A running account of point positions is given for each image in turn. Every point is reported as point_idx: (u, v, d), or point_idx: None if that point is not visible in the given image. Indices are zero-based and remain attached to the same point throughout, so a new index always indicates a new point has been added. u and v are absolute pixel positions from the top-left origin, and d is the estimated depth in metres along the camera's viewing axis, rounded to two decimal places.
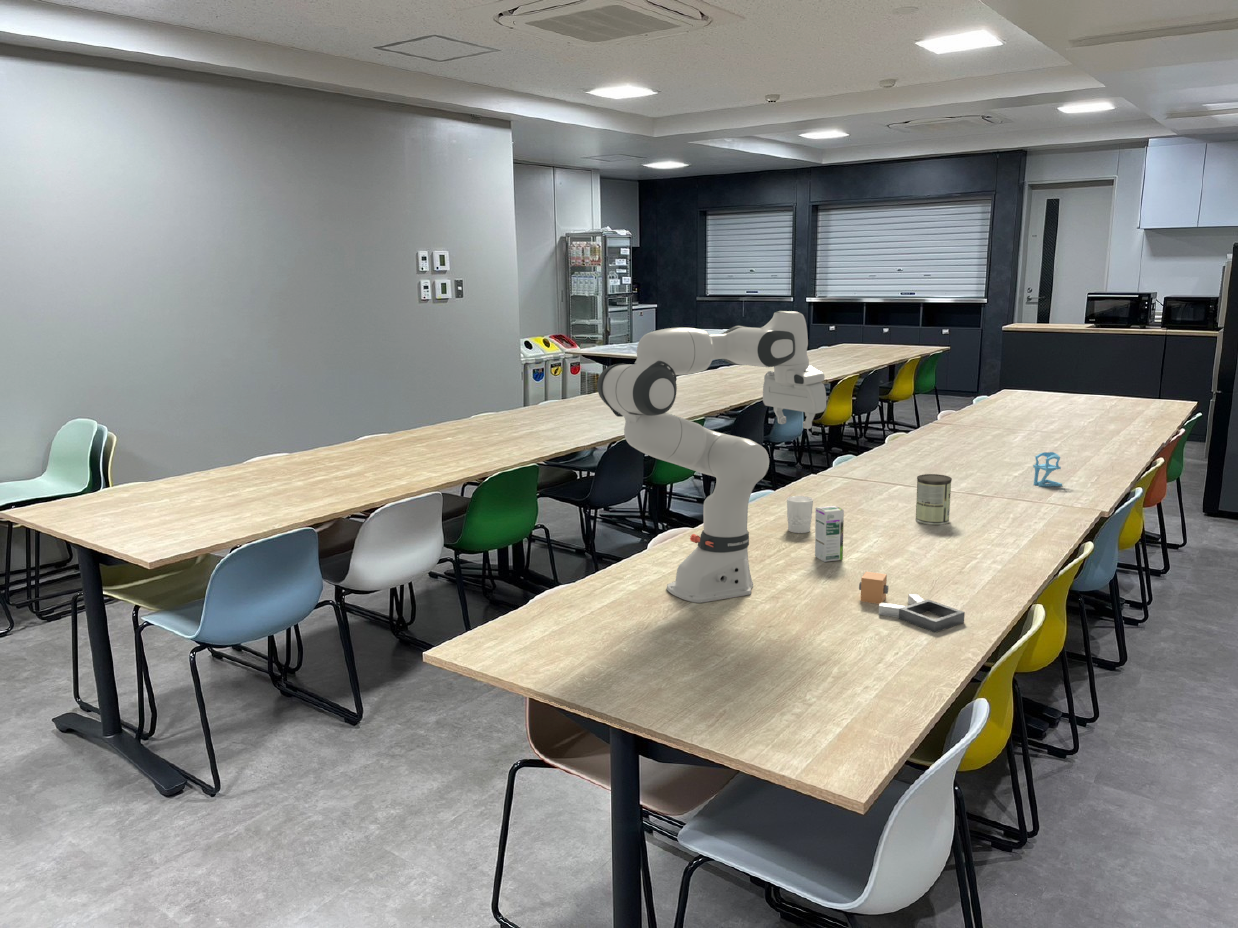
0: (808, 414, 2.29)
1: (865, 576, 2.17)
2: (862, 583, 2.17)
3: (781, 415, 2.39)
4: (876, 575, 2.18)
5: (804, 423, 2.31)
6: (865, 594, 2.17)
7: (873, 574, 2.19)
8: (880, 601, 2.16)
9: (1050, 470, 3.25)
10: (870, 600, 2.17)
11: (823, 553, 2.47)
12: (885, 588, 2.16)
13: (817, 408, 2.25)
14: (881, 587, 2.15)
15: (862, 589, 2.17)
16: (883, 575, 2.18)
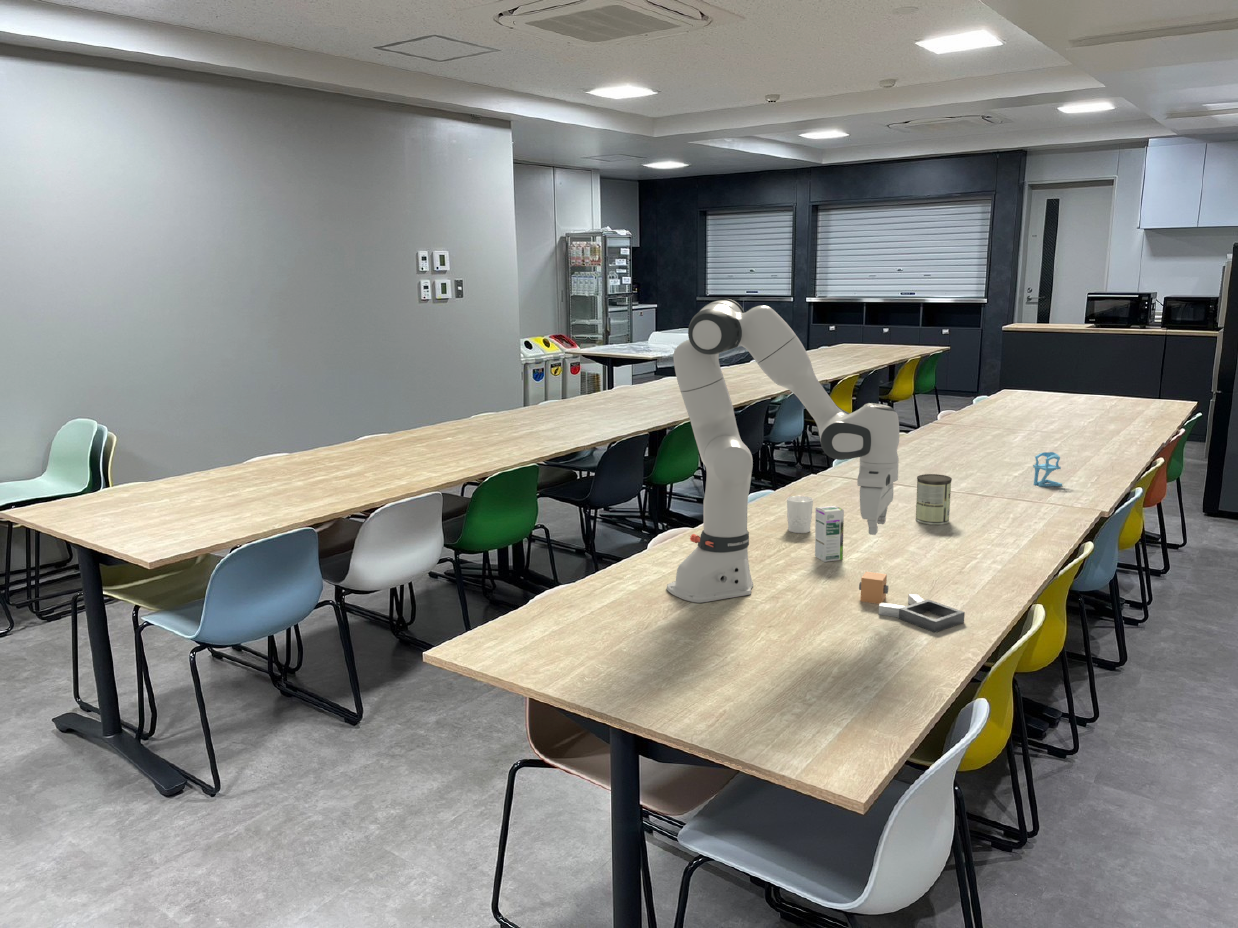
0: None
1: (865, 576, 2.17)
2: (862, 583, 2.17)
3: (882, 514, 2.19)
4: (876, 575, 2.18)
5: None
6: (865, 594, 2.17)
7: (873, 574, 2.19)
8: (880, 601, 2.16)
9: (1050, 470, 3.25)
10: (870, 600, 2.17)
11: (823, 553, 2.47)
12: (885, 588, 2.16)
13: (862, 514, 2.06)
14: (881, 587, 2.15)
15: (862, 589, 2.17)
16: (883, 575, 2.18)
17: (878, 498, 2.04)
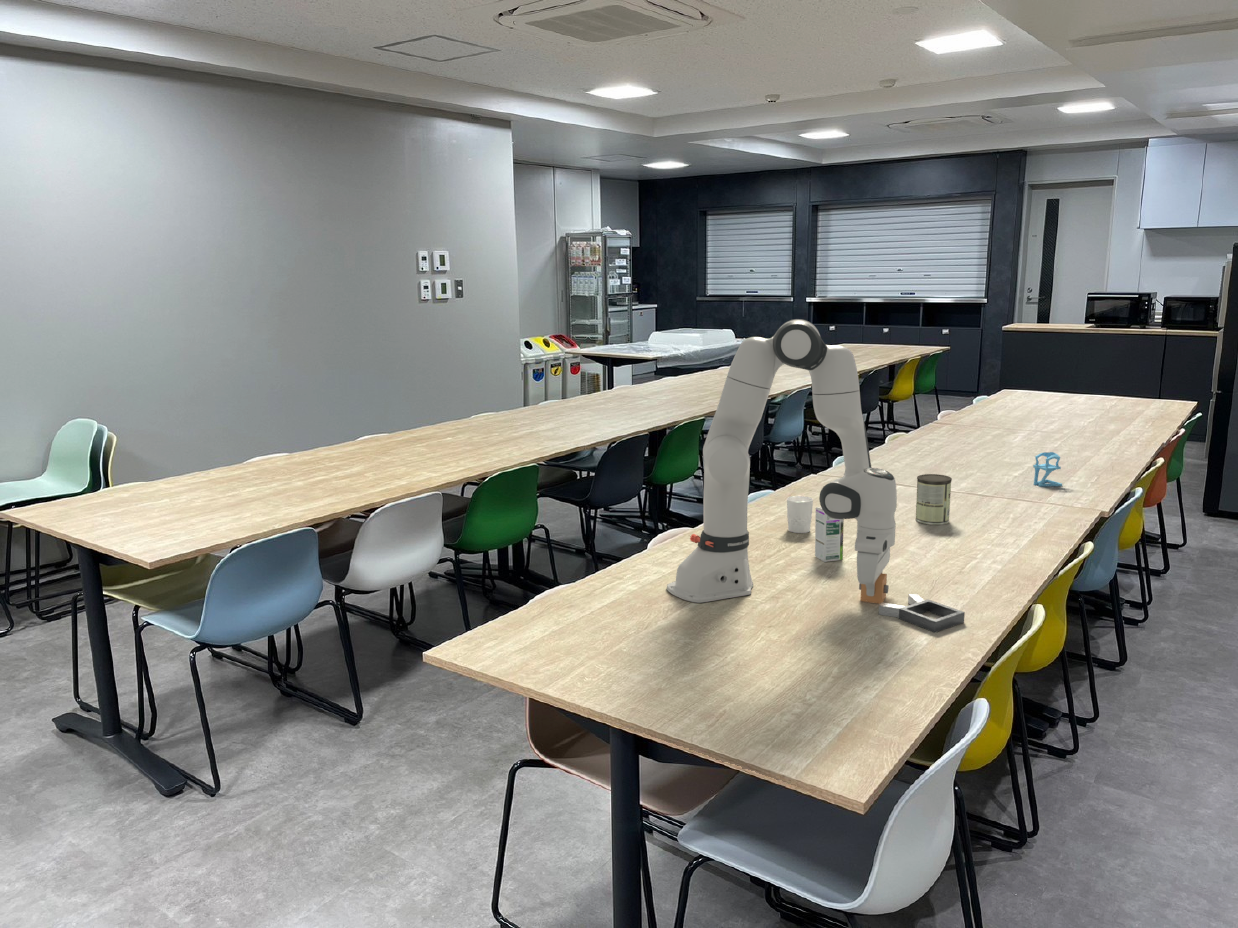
0: None
1: None
2: None
3: None
4: None
5: None
6: (865, 594, 2.17)
7: None
8: (880, 601, 2.16)
9: (1050, 470, 3.25)
10: (870, 600, 2.17)
11: (823, 553, 2.47)
12: (885, 588, 2.16)
13: (859, 579, 2.09)
14: (881, 587, 2.15)
15: (862, 589, 2.17)
16: (883, 575, 2.18)
17: (875, 564, 2.07)
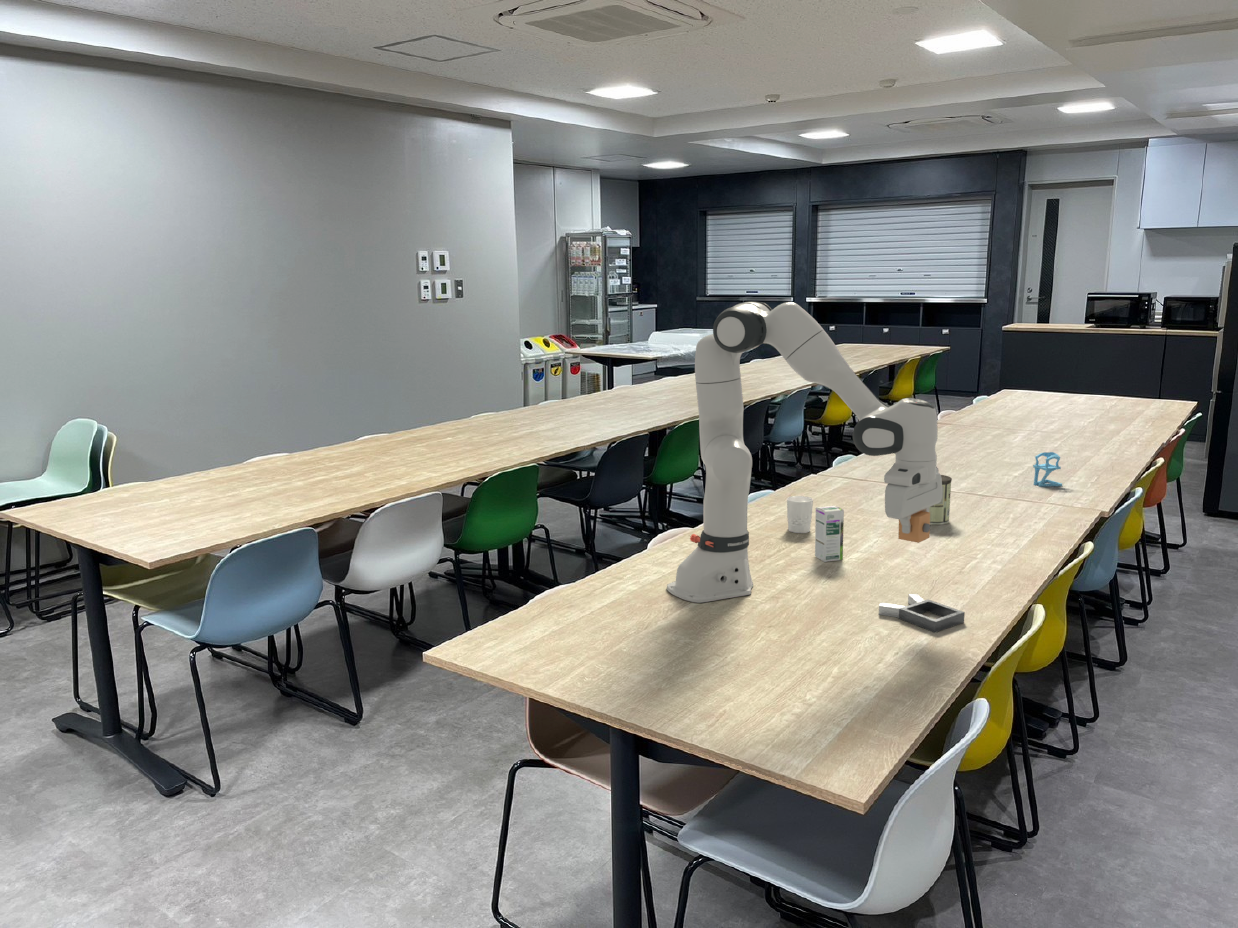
0: None
1: None
2: None
3: None
4: (918, 512, 2.06)
5: None
6: None
7: None
8: (917, 539, 2.03)
9: (1050, 470, 3.25)
10: (907, 538, 2.05)
11: (823, 553, 2.47)
12: (924, 526, 2.03)
13: (886, 512, 1.99)
14: (918, 524, 2.03)
15: (900, 526, 2.06)
16: (925, 513, 2.05)
17: (902, 497, 1.96)
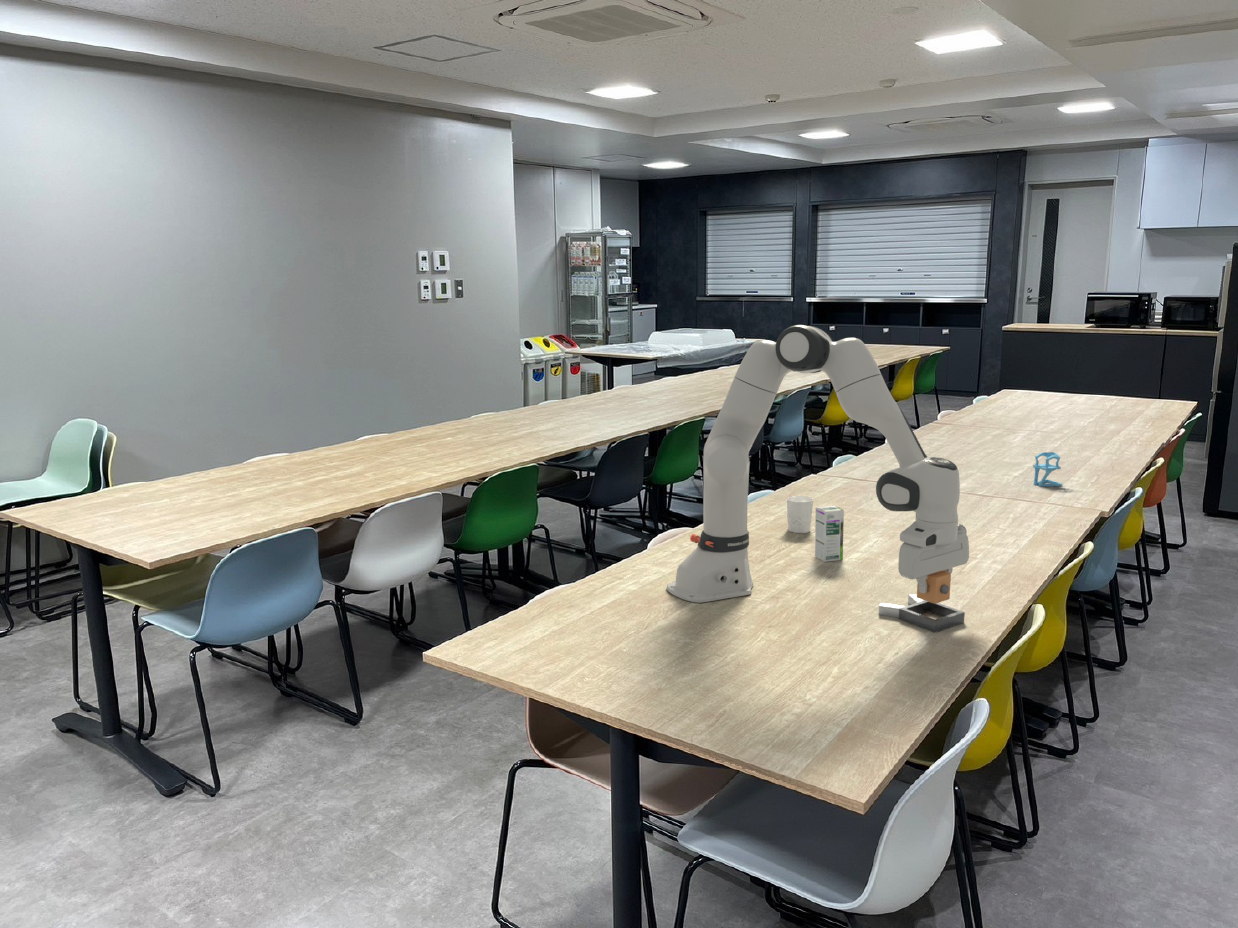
0: None
1: None
2: None
3: None
4: (938, 572, 2.03)
5: None
6: None
7: None
8: (934, 600, 2.01)
9: (1050, 470, 3.25)
10: (925, 597, 2.03)
11: (823, 553, 2.47)
12: (942, 587, 2.00)
13: (899, 571, 1.98)
14: (935, 585, 2.00)
15: (918, 585, 2.04)
16: (945, 574, 2.02)
17: (914, 557, 1.95)
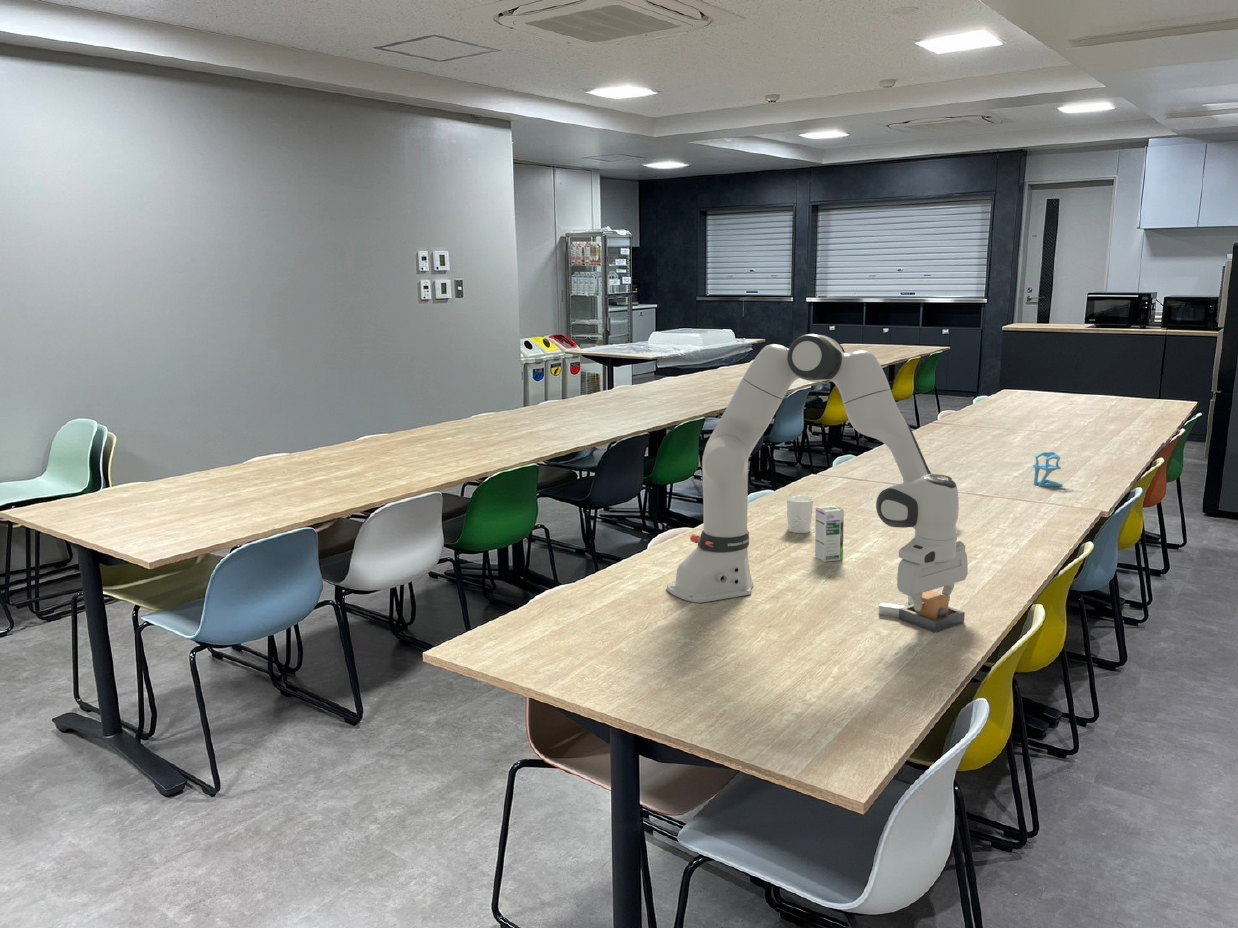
0: None
1: None
2: None
3: (946, 592, 2.06)
4: (936, 595, 2.04)
5: None
6: (919, 613, 2.05)
7: (934, 594, 2.05)
8: None
9: (1050, 470, 3.25)
10: None
11: (823, 553, 2.47)
12: (940, 611, 2.02)
13: (898, 587, 1.99)
14: (933, 608, 2.01)
15: None
16: (943, 597, 2.03)
17: (912, 574, 1.96)
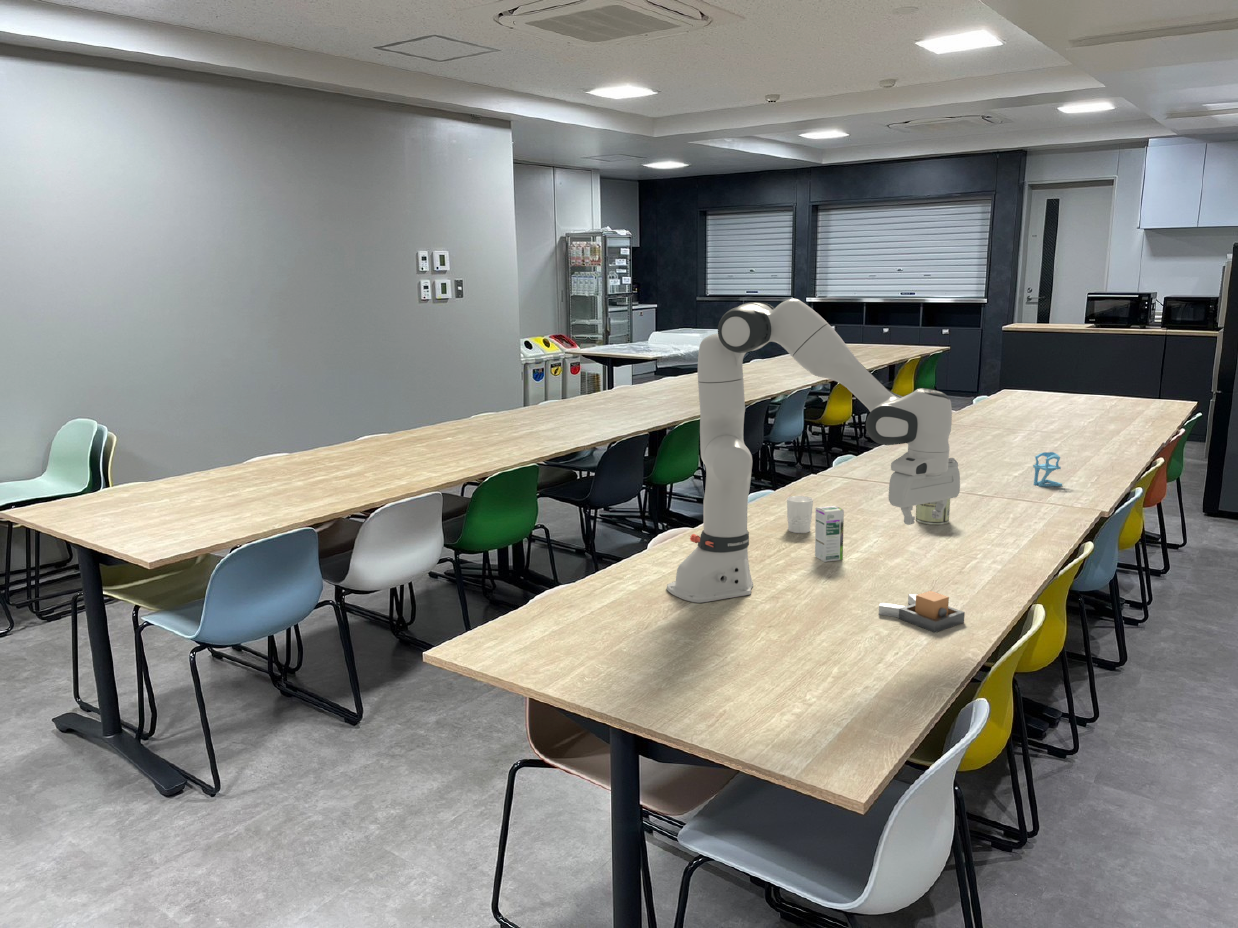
0: None
1: (921, 595, 2.04)
2: (916, 601, 2.05)
3: (938, 509, 2.07)
4: (936, 595, 2.04)
5: None
6: (919, 613, 2.05)
7: (934, 594, 2.05)
8: None
9: (1050, 470, 3.25)
10: None
11: (823, 553, 2.47)
12: (940, 611, 2.02)
13: (889, 499, 2.00)
14: (933, 608, 2.01)
15: (916, 607, 2.05)
16: (943, 597, 2.03)
17: (904, 485, 1.97)
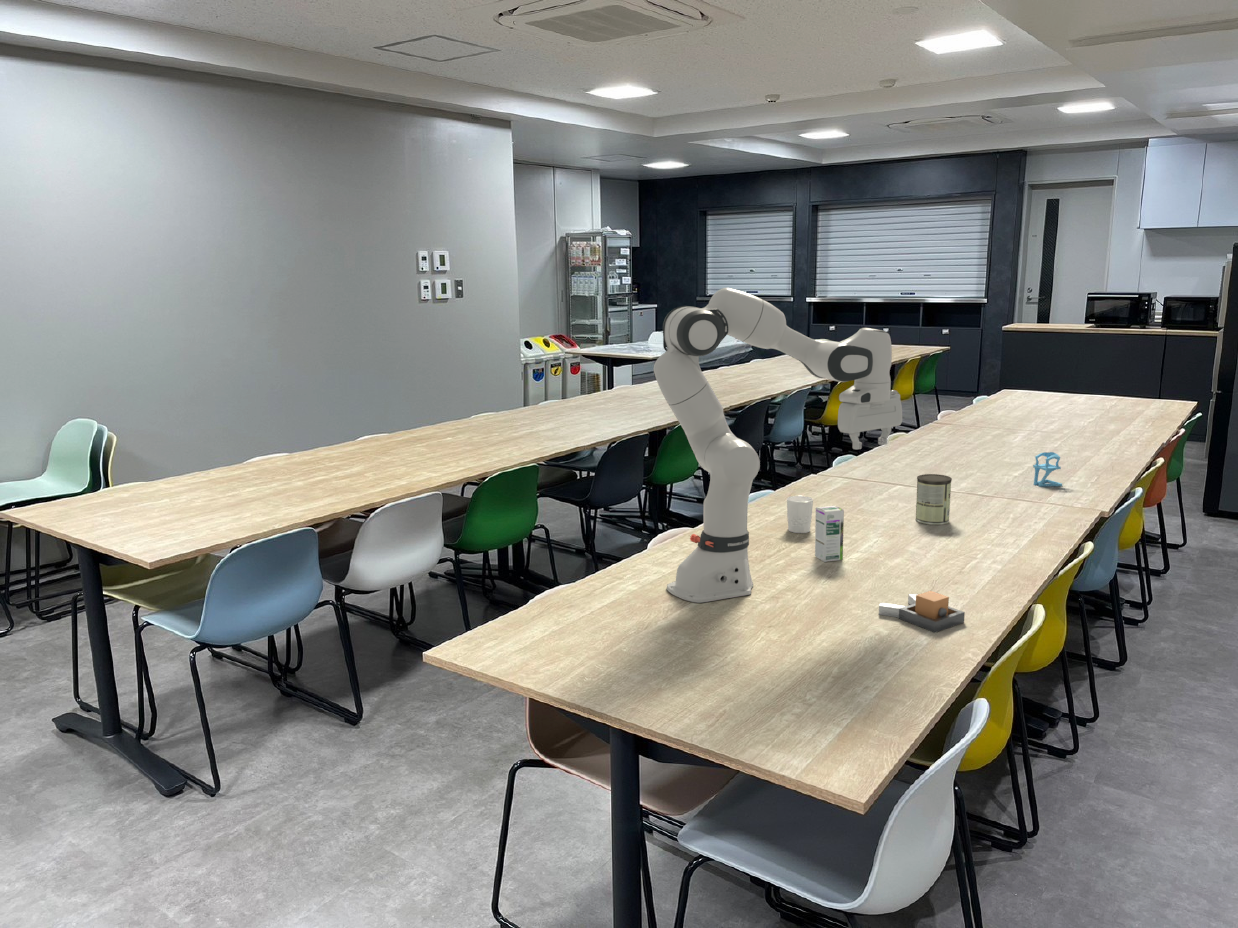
0: None
1: (921, 595, 2.04)
2: (916, 601, 2.05)
3: (884, 436, 2.32)
4: (936, 595, 2.04)
5: None
6: (919, 613, 2.05)
7: (934, 594, 2.05)
8: None
9: (1050, 470, 3.25)
10: None
11: (823, 553, 2.47)
12: (940, 611, 2.02)
13: (838, 427, 2.25)
14: (933, 608, 2.01)
15: (916, 607, 2.05)
16: (943, 597, 2.03)
17: (850, 413, 2.21)
